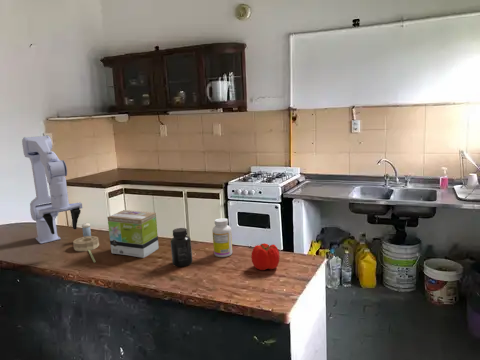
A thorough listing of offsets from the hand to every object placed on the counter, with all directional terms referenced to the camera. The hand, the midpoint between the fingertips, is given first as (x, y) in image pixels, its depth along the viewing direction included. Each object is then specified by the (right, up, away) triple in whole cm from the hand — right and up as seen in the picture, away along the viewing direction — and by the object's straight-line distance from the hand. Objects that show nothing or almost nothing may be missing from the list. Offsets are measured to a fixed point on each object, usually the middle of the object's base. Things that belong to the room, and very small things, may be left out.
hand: (63, 231), depth 149 cm
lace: (+10, -10, +1) cm, 14 cm away
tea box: (+25, -9, +4) cm, 27 cm away
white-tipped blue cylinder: (+1, -6, +20) cm, 21 cm away
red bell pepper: (+73, -10, -16) cm, 76 cm away
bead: (+4, -8, +12) cm, 15 cm away
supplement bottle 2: (+58, -8, -3) cm, 59 cm away
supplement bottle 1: (+45, -10, -9) cm, 47 cm away
